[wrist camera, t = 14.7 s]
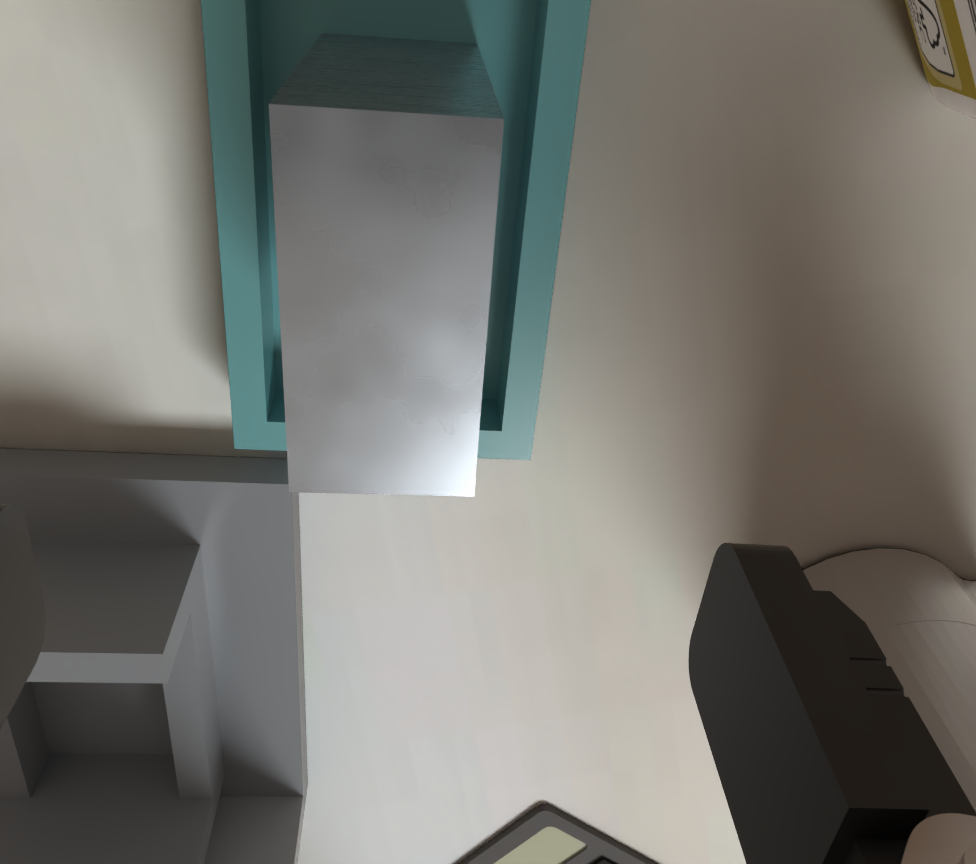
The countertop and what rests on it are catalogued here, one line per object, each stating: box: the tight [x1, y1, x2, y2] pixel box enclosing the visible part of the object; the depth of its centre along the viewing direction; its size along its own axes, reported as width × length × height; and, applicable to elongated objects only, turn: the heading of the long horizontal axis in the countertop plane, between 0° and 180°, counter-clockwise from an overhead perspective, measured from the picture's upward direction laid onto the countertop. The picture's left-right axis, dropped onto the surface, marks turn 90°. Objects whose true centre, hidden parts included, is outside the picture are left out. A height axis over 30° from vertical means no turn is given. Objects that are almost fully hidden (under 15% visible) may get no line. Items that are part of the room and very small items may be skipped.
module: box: [269, 33, 504, 497], centre depth 21 cm, size 4×8×9 cm, turn 176°
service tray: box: [201, 0, 591, 460], centre depth 24 cm, size 9×15×3 cm, turn 175°
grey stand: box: [0, 448, 308, 864], centre depth 27 cm, size 14×17×16 cm
